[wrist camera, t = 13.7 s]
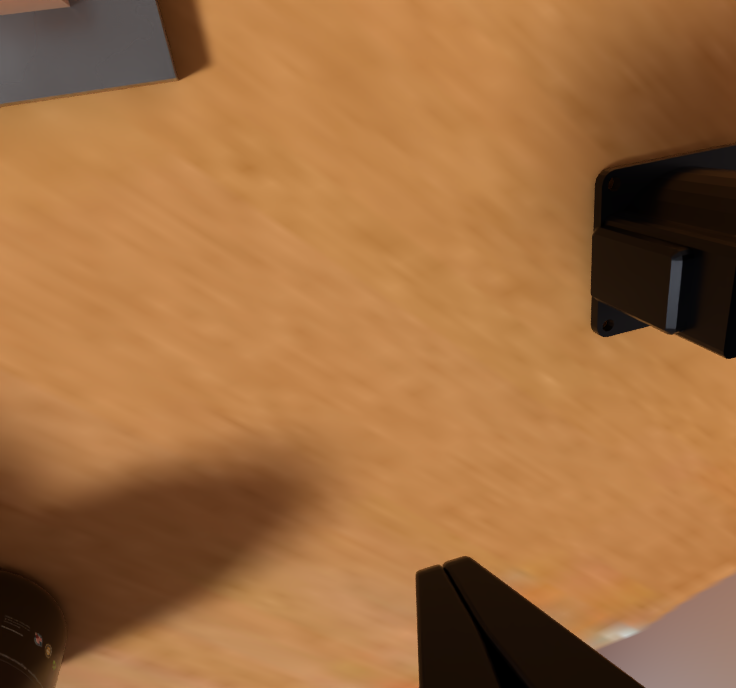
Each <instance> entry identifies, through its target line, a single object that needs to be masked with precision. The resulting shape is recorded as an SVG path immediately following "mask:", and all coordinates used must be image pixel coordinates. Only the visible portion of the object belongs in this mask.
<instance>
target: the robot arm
mask: <svg viewBox="0 0 736 688" xmlns="http://www.w3.org/2000/svg"><path fill="white" fill-rule="evenodd" d="M611 178H613V181H614V182H613V185H612V187H611V188H610V189H609V188H608V183H609V181H610V180H611ZM591 296H592V305H591V328H592V330H593V331H594V332H595V333H597V334H598V335H600V336H602V337H609V336H613V335H617V334H620V333H624V332H628V331H632V330H636V329H640V328H644V327H647V326H652V327H654V328H656V329H658V330H660V331H662V332H664V333H666V334H670V335H672V334H675V335H677V336H680V337H682V338H684V339H686V340H688V341H690V342H692V343H694V344H697V345H699V346H701V347H703V348H705V349H707V350H709V351H711V352H714V353H716V354H718V355H720V356H722V357H724V358H726V359H731V358H735V357H736V143H733V144H728V145H723V146H718V147H713V148H708V149H703V150H698V151H693V152H688V153H683V154H678V155H673V156H668V157H663V158H658V159H653V160H648V161H643V162H638V163H633V164H628V165H623V166H618V167H613V168H608V169H606V170H603V171H602V172H601V173H600V174H599V175H598V177H597V179H596V183H595V201H594V233H593V236H592V267H591ZM607 320H608V321H607ZM605 321H607V324H606V325H605V326H604V327H603V324H604V322H605ZM416 605H417V635H418V664H419V688H645V687H644V686H642V685H641V684H640V683H638V682H637V681H636V680H634V679H633V678H632V677H630V676H629V675H628V674H626V673H625V672H623V671H622V670H621V669H620V668H618V667H617V666H615V665H614V664H613V663H611V662H610V661H609V660H607V659H606V658H605V657H603V656H602V655H601V654H599V653H598V652H597V651H595V650H594V649H593V648H591V647H590V646H589V645H587V644H586V643H585V642H583V641H582V640H581V639H579V638H578V637H577V636H575V635H574V634H573V633H571V632H570V631H569V630H567V629H566V628H565V627H563V626H562V625H561V624H559V623H558V622H556V621H555V620H554V619H552V618H551V617H550V616H548V615H547V614H546V613H544V612H543V611H542V610H540V609H539V608H538V607H536V606H535V605H534V604H532V603H531V602H530V601H528V600H527V599H526V598H524V597H523V596H522V595H520V594H519V593H518V592H516V591H515V590H514V589H512V588H511V587H510V586H508V585H507V584H505V583H504V582H503V581H501V580H500V579H499V578H497V577H496V576H495V575H493V574H492V573H491V572H489V571H488V570H487V569H485V568H484V567H483V566H481V565H480V564H479V563H477V562H476V561H475V560H473V559H472V558H470V557H468V556H462V557H459V558H456V559H453V560H450V561H447V562H445V563H444V564H443V566H441V565H434V566H431V567H428V568H425V569H422V570H419V571H417V573H416Z"/></svg>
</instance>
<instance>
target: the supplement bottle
mask: <svg viewBox="0 0 736 688" xmlns="http://www.w3.org/2000/svg"><path fill="white" fill-rule="evenodd" d="M66 640H67V627H66V621H65V618H64V615H63V613H62V611H61V609H60V607H59V605H58V604H57V602H56V601H55V600H54V599H53V597H52V596H51V595H50V594H49V593H48V592H47V591H46V590H44V589H43V588H42V587H40V586H39V585H37V584H36V583H34V582H32V581H30V580H28V579H26V578H24V577H22V576H19V575H17V574H14V573H11V572H7V571H3V570H0V688H55V686H56V682H57V679H58V675H59V671H60V667H61V663H62V659H63V655H64V651H65V646H66Z"/></svg>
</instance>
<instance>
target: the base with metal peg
mask: <svg viewBox="0 0 736 688" xmlns="http://www.w3.org/2000/svg"><path fill="white" fill-rule="evenodd" d="M68 1H69V4H70V7H65V8H56V9H48V10H40V11H32V12H23V13H15V14H7V15H0V107H4V106H11V105H18V104H24V103H31V102H38V101H45V100H51V99H58V98H65V97H72V96H78V95H85V94H92V93H99V92H105V91H112V90H119V89H126V88H132V87H139V86H146V85H153V84H159V83H166V82H173V81H179V80H178V76H177V72H176V69H175V65H174V61H173V57H172V54H171V50H170V46H169V42H168V38H167V35H166V31H165V27H164V23H163V20H162V16H161V12H160V8H159V5H158V1H157V0H68Z"/></svg>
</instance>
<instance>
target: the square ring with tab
mask: <svg viewBox="0 0 736 688" xmlns="http://www.w3.org/2000/svg"><path fill="white" fill-rule="evenodd" d="M65 7H70V4H69V1H68V0H0V15H7V14H15V13H23V12H32V11H40V10H48V9H56V8H65Z"/></svg>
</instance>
